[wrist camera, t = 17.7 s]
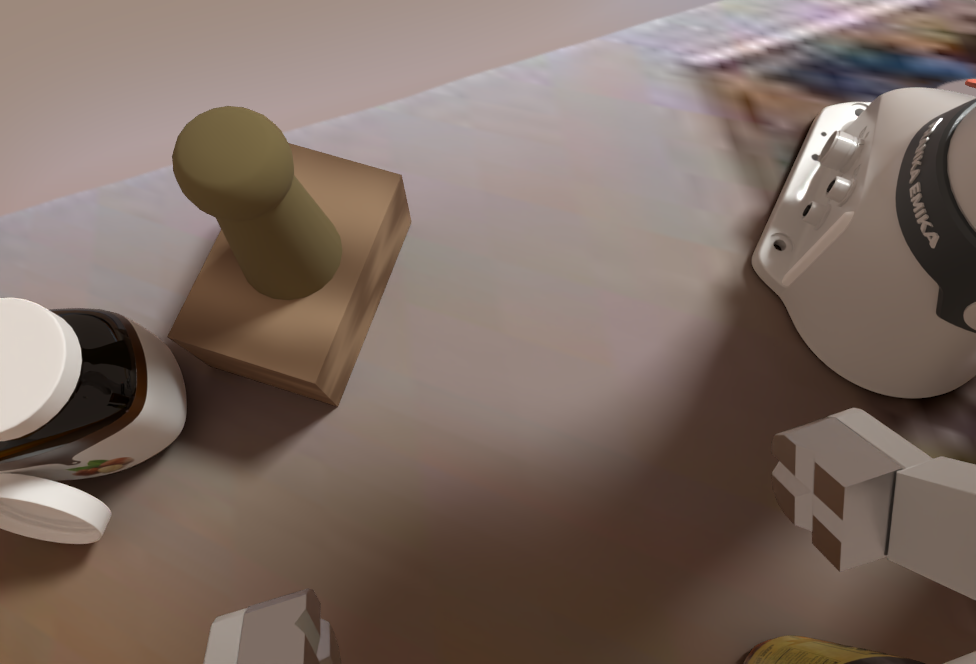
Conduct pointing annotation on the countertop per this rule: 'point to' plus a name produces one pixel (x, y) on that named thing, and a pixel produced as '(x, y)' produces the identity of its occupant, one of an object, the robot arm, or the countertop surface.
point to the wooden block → (318, 317)
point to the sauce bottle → (816, 653)
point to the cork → (257, 201)
